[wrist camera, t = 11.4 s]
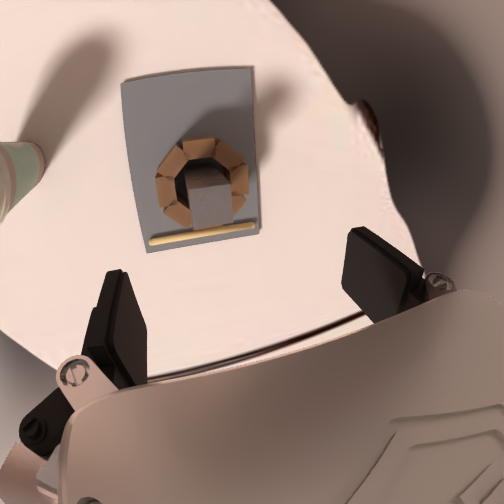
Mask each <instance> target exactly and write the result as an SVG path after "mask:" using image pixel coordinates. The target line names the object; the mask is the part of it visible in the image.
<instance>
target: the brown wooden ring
mask: <svg viewBox="0 0 504 504" xmlns="http://www.w3.org/2000/svg"><path fill="white" fill-rule="evenodd" d="M206 157H213V158H214V159H216V160H217V161H218V162H219V163H221V164H222V165H223V174H224V177H225V178H226V179H227V181H228V182H229V183H230V184H231V197H232V209H233V216H234V215H235V214H236V213H237V212H238V210H239V209H240V208H241V207H242V206H243V204H244V203H245V202H246V201H247V199H246V198H245V197H244V196H243V195H245V194H249V181H248V165H247V164H245V163H243V160H244V158H243V157H242V156H240V155H239V154H238V153H237V152H236V151H234V150H233V149H232V148H231V147H230V146H228V145H227V144H226V143H225V142H223V141H222V140H220V139H218V138H214V137H211V136H205V137H197V138H190V139H182V147H181V146H180V145H178V144H177V143H175V145H174V146H173V147H172V148H171V150H170V151H169V152H168V154H167V155H166V156H165V158H164V159H163V160H162V161H161V163H160V164H159V166H158V169H157V173H156V176H155V183H156V189H157V195H158V201H159V207H160V208H161V207H164V210H163V214H165V215H166V216H168V217H169V218H171V219H172V220H174V221H175V222H177V223H178V224H180V225H181V226H183V227H184V228H186V229H188V228H189V227H190V225H191V224H192V225H193V222H192V217H191V212H190V207H189V202H188V199H187V198H186V197H184V196H183V195H181V194H180V193H179V192H177V191H176V184H175V177H176V175H177V174H178V173H179V171H180V170H181V169H182V168H183V166H184V165H185V164H186V163H187V161H188V160H192V159H199V158H206ZM219 226H223V225H222V224H221V225H215V226H209V227H203V228H197V229H194V227H193V230H194V231H195V230H201V229H207V228H213V227H219Z"/></svg>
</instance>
